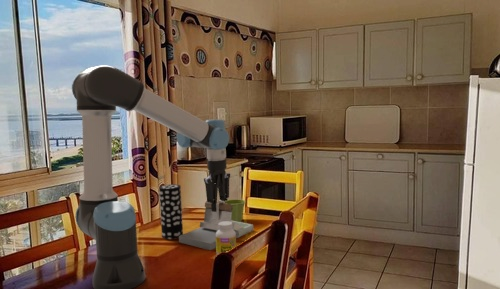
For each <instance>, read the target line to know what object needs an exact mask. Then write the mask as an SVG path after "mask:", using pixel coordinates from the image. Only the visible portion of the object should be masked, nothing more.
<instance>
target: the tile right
mask: <svg viewBox="0 0 500 289" xmlns="http://www.w3.org/2000/svg"><path fill="white" fill-rule="evenodd" d="M232 224H233V227H234V231H237V230H239V229H241V228H243V227H242V226H240V225H238V224H236V223H233V222H232Z"/></svg>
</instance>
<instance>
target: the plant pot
mask: <svg viewBox="0 0 500 289" xmlns="http://www.w3.org/2000/svg"><path fill="white" fill-rule="evenodd" d="M225 203H226V204H232V206H233V210H232V211H231V212H232V214H231V220H232V221H237V222H243V218H244V207H245V205H246V204H245V203H246V200H244V199H239V198H237V199H236V198H235V199H234V198H233V199H228V200H227V201H225Z"/></svg>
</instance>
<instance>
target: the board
mask: <svg viewBox="0 0 500 289" xmlns="http://www.w3.org/2000/svg"><path fill="white" fill-rule="evenodd" d="M216 232H217V230H212V229H208V228H203V227H199V228H195V229H193V230H191V231H188V232H185V233H183V235H180V236H179V238H178V243H181V244H185V245H189V246H192V247H196V248H200V249H203V250H207V251H212V250H215V249H216ZM235 232H236V239H238V238H239V237H238V231H235Z"/></svg>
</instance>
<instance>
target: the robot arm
mask: <svg viewBox="0 0 500 289" xmlns="http://www.w3.org/2000/svg"><path fill="white" fill-rule="evenodd" d="M71 92H72V95H73V96H74V98H75V100H76V112H77V113H79V114H80V116H82V117H81V118H82V120H81V122H82V156H83V157H82V159H83V162H82V163H83V189H84V190H83V192H82V193H81V194H80V195H79V197H78V199H79V200H78V202H79V205H78V207H77V209H76V212H75V224H76V225H77V227H78V228H79V229H80V231H81V232H82V233H84V234H85V235H86V236H88V237H90V238H91V239H93V240H94V241H95V246H96V247H95V249H96V263H95V267H94V270H93V271H94V272H93V275H92V278H91V279H92V288H93V289H135V288H136V287H138V286H140V285H141V284H143V283H144V282H145V280H146V272H145V267H144V264H143V263H142V261H141V259H140V256H139V253H138V252H139V251H138V236H137V215H136V213H135V211H136V210H135V207H134V206H133V205H132V204H131V203H128V202H125V201H119V197H118V196H119V195H118V194H117V193H116V192H115V191H114V189H113V151H112V150H113V149H112V148H113V146H112V145H113V144H112V116H113V115H114V114H115V113H116V111H117V107H118V108H121V109H124V110H125V111H127V112H132V111H134V112H136V113H138V114H140V115H142V116H145V117H146V118H149V119H150V120H152V121H155V122H157V123H158V124H160V125H162V126H164V127H166V128H168V129H170V130H172V131H174V132H176V141H177V143H178V145H179V146H180V148H200V149H206V159H207V161H206V163H207V164H206V165H207V166H206V168H207V170H208V176H207V177H204V178H203V182H204V184H205V185H204V186H205V194H206V201H207V202H209V203H211V208H212V214H213V219H216V220H219V203H225V201H227V200H229V197H230V178H231V173H230V172H226V169H227V168H228V164H227V159H226V158H227V150H226V148H227V146H228V145H229V141H230V135H229V132H228V131H227V130H226V123H225V121H224V119H219V118H216V119H206V120H203V119H201V118H199V117H198V116H196V115H194V114H192V113H190V112H189V111H187V110H184V109H183V108H181V107H180V106H178V105H176V104H174V103H172V102H171V101H168V100H167V99H165V98H164V97H162V96H160V95H158V94H156V93H154V92H152V91H151V90H149V89H147V88H146V86H145V83H143V82H142V81H140V80H139V79H137V78H135V77H134V76H131V75H130V74H129V73H126V72H125V71H123V70H121V69H119V68H117V67H114V66H111V65H98V66H94V67H88V68H87V67H86V68H85V69H83V70H82V71H80V72H78V73H77V74H76V76H75V77H74V78H73V80H72V83H71ZM218 197H219V200H218ZM217 202H219V203H217Z"/></svg>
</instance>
